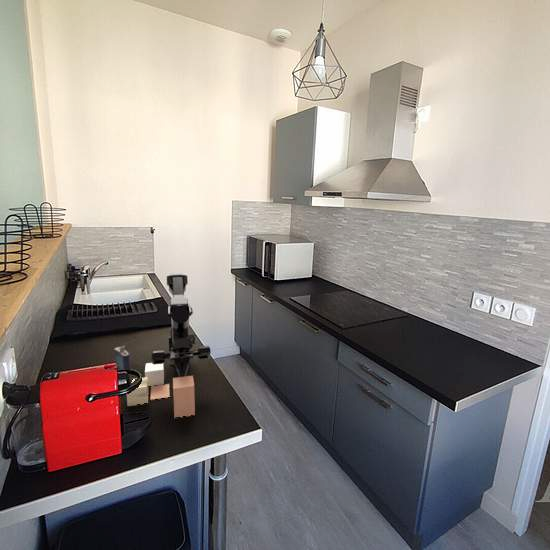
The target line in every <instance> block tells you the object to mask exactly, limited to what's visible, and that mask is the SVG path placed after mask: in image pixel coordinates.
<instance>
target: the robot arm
mask: <svg viewBox="0 0 550 550" xmlns="http://www.w3.org/2000/svg"><path fill="white" fill-rule="evenodd" d="M188 283H189V281H188V275H186V274H184V273H171V274H169V275H167V276H166V286H168V291H169V293H170V294H171V295H172V298H171V299H170V300H169V305H168V306H167V307H168V309H167V310H168V312H167V313H168V318H169V319H171V328H170V330H169V331H170V332H169V333H170V335H169V336H168V352H167V353H165V350H162V349H161V350H153V352H151V363H152V364H154V365H155V364H165V362H166V360H170V361H169V366H174V367H175V369H176V371H177V373H178V377H186V376H187V372H188V369H189V366H190V364H192V363H193V362H194V357H197V358H198V359H199V360H208V359H210V358H211V347H210V345H204V346H198V347H197V350H192V348H194V346H193V345H195V344H196V334H193V333H192V334H190V317H191V316H192V315H193V314H194V313H193V308H192V305H190V304H189V300H188V298H186V297H185V292H186V291H187V290H186V288H187V286H188ZM169 352H170V353H169ZM182 367H183V369H182Z"/></svg>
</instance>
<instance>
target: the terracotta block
mask: <svg viewBox="0 0 550 550" xmlns="http://www.w3.org/2000/svg"><path fill="white" fill-rule="evenodd" d="M172 389H173V390H172V391H173V414H174V417H173V418H174V419H176V418H175V417H180V418H184V417H183V416H186V417H192V416H191V415H193V416H196V413H195V412H196V407H195V404H196V403H195V382H194V375H186V376H185V377H180V376H178V377H172Z"/></svg>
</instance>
